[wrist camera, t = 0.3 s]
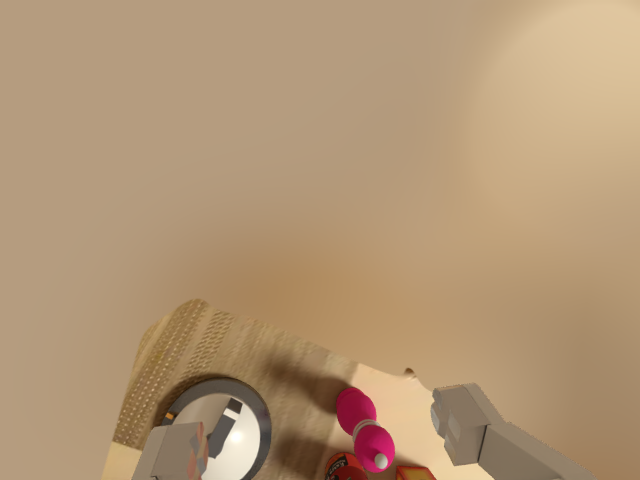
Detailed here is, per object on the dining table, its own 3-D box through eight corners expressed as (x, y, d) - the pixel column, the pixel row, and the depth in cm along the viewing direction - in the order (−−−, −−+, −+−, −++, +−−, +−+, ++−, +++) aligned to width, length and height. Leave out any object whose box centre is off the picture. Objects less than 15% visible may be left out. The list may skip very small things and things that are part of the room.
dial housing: (290, 446, 60) (291, 453, 58) (196, 512, 57) (192, 523, 55) (238, 356, 61) (236, 360, 58) (142, 417, 58) (135, 424, 55)
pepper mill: (327, 414, 62) (348, 481, 42) (342, 379, 63) (370, 428, 43) (360, 428, 62) (396, 501, 43) (374, 393, 63) (416, 448, 44)
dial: (231, 501, 56) (226, 526, 51) (151, 461, 55) (137, 482, 50) (276, 416, 59) (275, 432, 53) (199, 377, 58) (190, 388, 52)
